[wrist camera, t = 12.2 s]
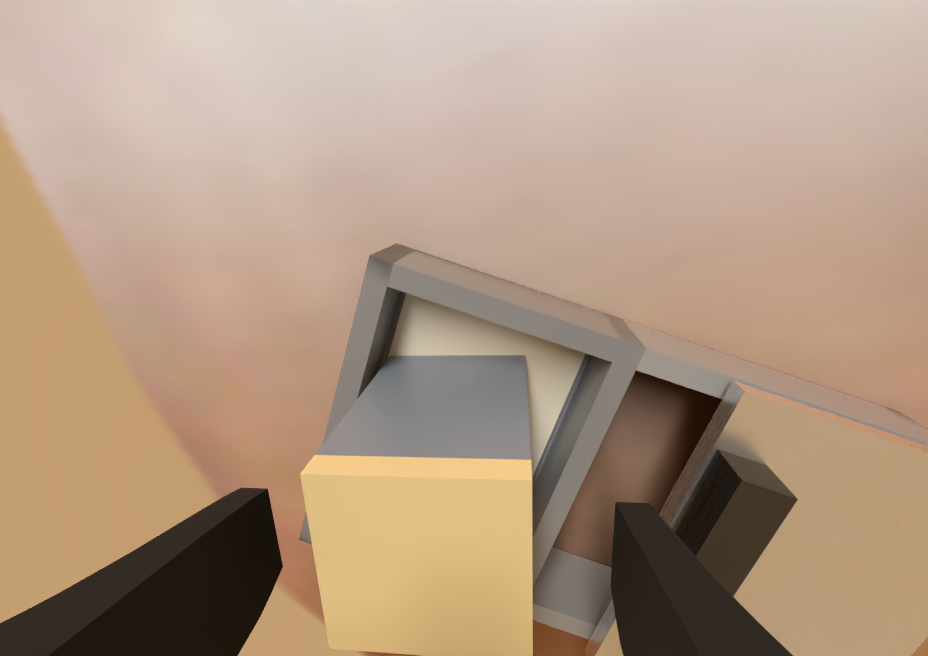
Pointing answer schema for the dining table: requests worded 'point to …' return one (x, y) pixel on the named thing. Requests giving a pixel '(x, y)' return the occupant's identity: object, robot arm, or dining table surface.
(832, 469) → the lid
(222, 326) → the dining table surface
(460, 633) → the block
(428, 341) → the case
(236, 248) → the dining table surface
